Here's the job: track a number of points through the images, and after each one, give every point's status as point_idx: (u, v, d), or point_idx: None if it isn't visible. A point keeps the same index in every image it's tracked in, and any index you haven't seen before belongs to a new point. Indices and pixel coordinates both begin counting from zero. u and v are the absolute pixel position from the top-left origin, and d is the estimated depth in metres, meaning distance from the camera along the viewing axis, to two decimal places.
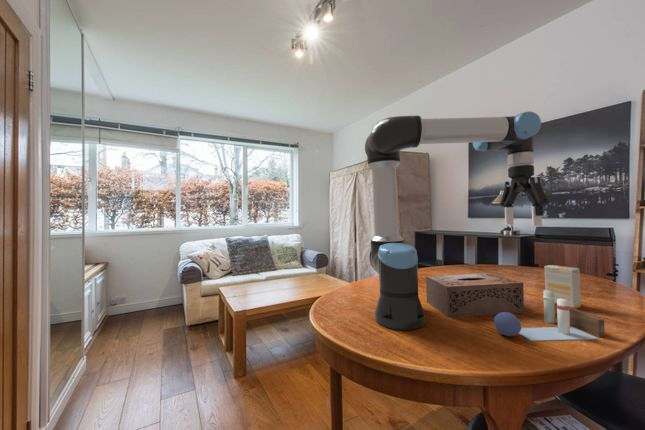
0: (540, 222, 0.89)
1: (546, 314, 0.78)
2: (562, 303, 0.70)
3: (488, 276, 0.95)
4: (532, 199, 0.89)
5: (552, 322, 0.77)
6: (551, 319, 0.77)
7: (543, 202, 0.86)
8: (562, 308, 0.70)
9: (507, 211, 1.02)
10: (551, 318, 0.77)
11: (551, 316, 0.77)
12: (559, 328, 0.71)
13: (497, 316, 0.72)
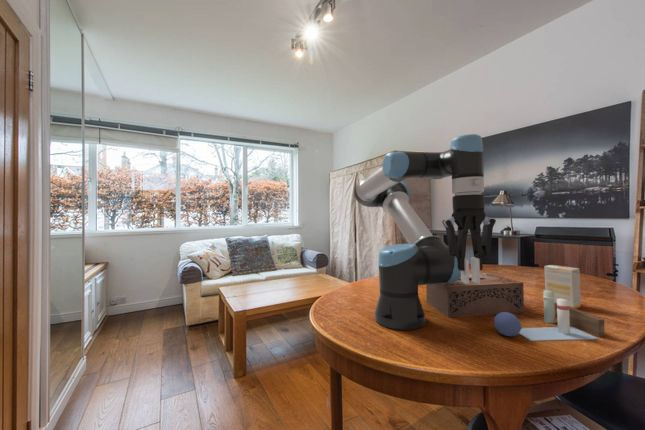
0: (465, 279, 0.70)
1: (546, 314, 0.78)
2: (562, 303, 0.70)
3: (488, 276, 0.96)
4: None
5: (552, 322, 0.77)
6: (551, 319, 0.77)
7: (452, 255, 0.71)
8: (562, 308, 0.70)
9: (472, 263, 0.72)
10: (551, 318, 0.77)
11: (551, 316, 0.77)
12: (559, 328, 0.71)
13: (497, 316, 0.72)
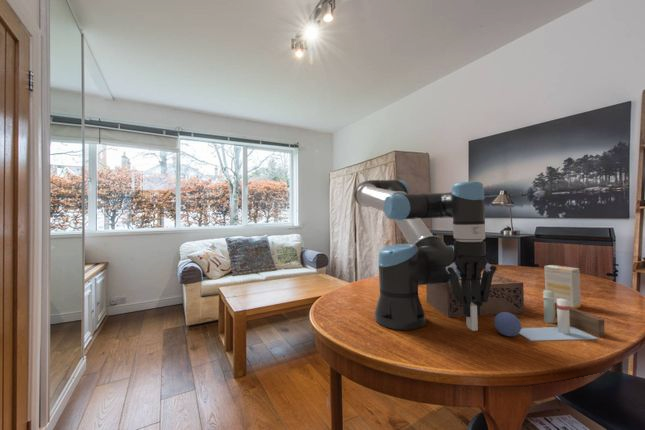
0: (470, 325, 0.70)
1: (546, 314, 0.78)
2: (562, 303, 0.70)
3: None
4: None
5: (552, 322, 0.77)
6: (551, 319, 0.77)
7: (458, 300, 0.71)
8: (562, 308, 0.70)
9: None
10: (551, 318, 0.77)
11: (551, 316, 0.77)
12: (559, 328, 0.71)
13: (497, 316, 0.72)
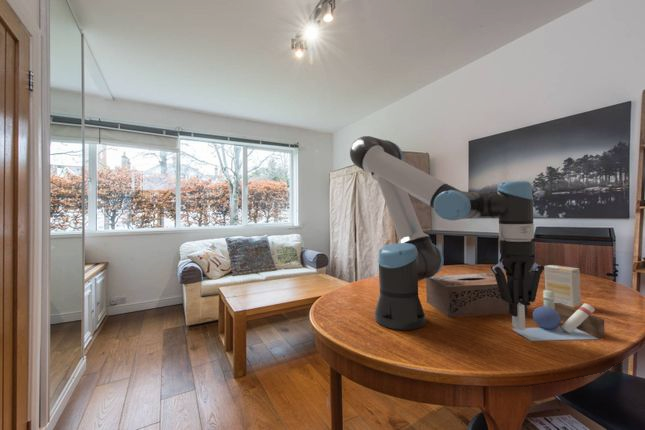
0: (518, 325, 0.70)
1: None
2: (588, 307, 0.70)
3: (488, 276, 0.96)
4: None
5: None
6: None
7: (504, 300, 0.71)
8: (584, 310, 0.70)
9: None
10: None
11: None
12: (566, 323, 0.71)
13: (546, 328, 0.74)
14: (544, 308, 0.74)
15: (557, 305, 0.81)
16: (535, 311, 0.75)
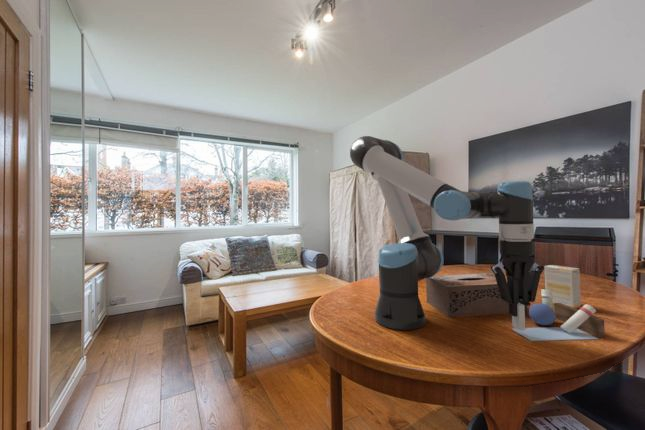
0: (518, 325, 0.70)
1: None
2: (589, 307, 0.70)
3: (488, 276, 0.96)
4: None
5: None
6: None
7: (504, 300, 0.71)
8: (585, 311, 0.70)
9: None
10: None
11: None
12: (566, 323, 0.71)
13: (543, 320, 0.74)
14: None
15: (557, 305, 0.81)
16: None
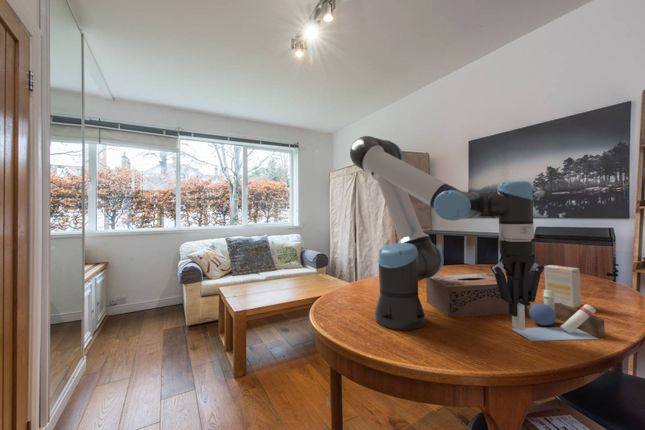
0: (518, 325, 0.70)
1: None
2: (589, 307, 0.70)
3: (488, 276, 0.96)
4: None
5: None
6: None
7: (504, 300, 0.71)
8: (585, 311, 0.70)
9: None
10: None
11: None
12: (566, 323, 0.71)
13: (543, 321, 0.74)
14: None
15: (557, 305, 0.81)
16: (530, 308, 0.79)
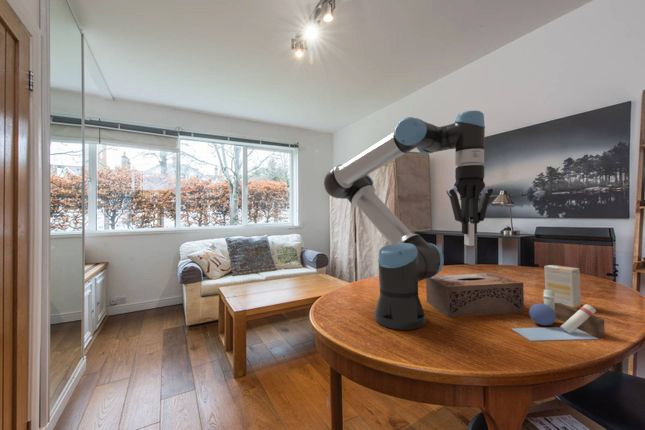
0: (468, 241, 0.79)
1: None
2: (589, 307, 0.70)
3: (488, 276, 0.96)
4: None
5: None
6: None
7: (457, 220, 0.80)
8: (585, 311, 0.70)
9: None
10: None
11: None
12: (566, 323, 0.71)
13: (543, 321, 0.74)
14: None
15: (557, 305, 0.81)
16: (530, 308, 0.79)
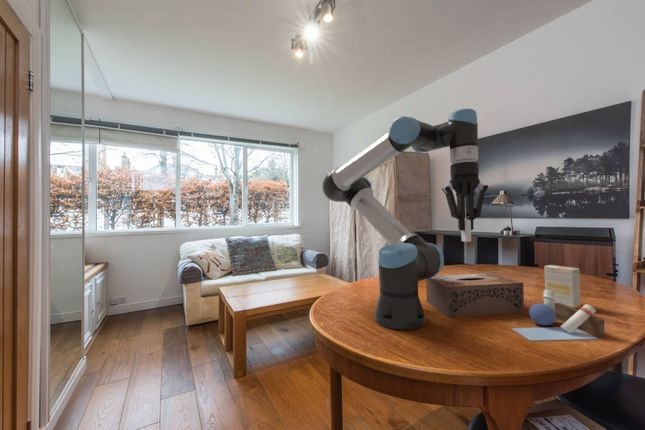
0: (465, 238, 0.79)
1: None
2: (589, 307, 0.70)
3: (488, 276, 0.96)
4: None
5: None
6: None
7: (454, 217, 0.80)
8: (585, 311, 0.70)
9: None
10: None
11: None
12: (566, 323, 0.71)
13: (543, 321, 0.74)
14: None
15: (557, 305, 0.81)
16: (530, 308, 0.79)
